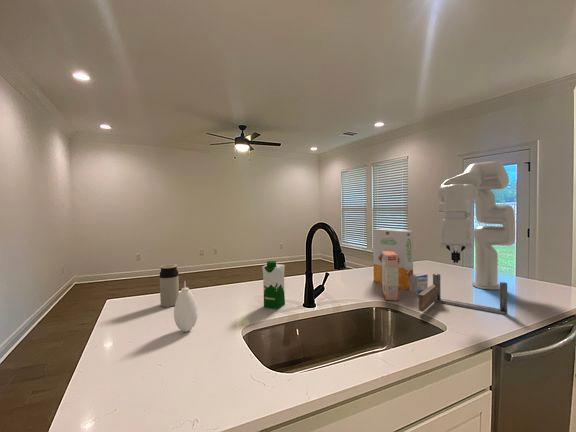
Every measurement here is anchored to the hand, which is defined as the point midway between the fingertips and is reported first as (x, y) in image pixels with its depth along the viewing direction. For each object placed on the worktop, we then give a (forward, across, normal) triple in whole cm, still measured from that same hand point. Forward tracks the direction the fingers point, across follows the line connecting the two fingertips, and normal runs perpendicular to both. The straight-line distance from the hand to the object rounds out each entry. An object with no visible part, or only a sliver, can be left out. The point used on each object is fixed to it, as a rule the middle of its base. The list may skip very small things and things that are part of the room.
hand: (455, 262), depth 117 cm
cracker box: (+21, +28, -10) cm, 36 cm away
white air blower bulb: (+19, +82, +65) cm, 106 cm away
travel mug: (+19, +112, +50) cm, 124 cm away
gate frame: (+21, -4, -10) cm, 23 cm away
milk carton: (+20, +69, +28) cm, 77 cm away
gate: (+19, +10, 0) cm, 21 cm away
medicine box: (+21, +17, -24) cm, 36 cm away
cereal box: (+21, +32, -33) cm, 50 cm away
